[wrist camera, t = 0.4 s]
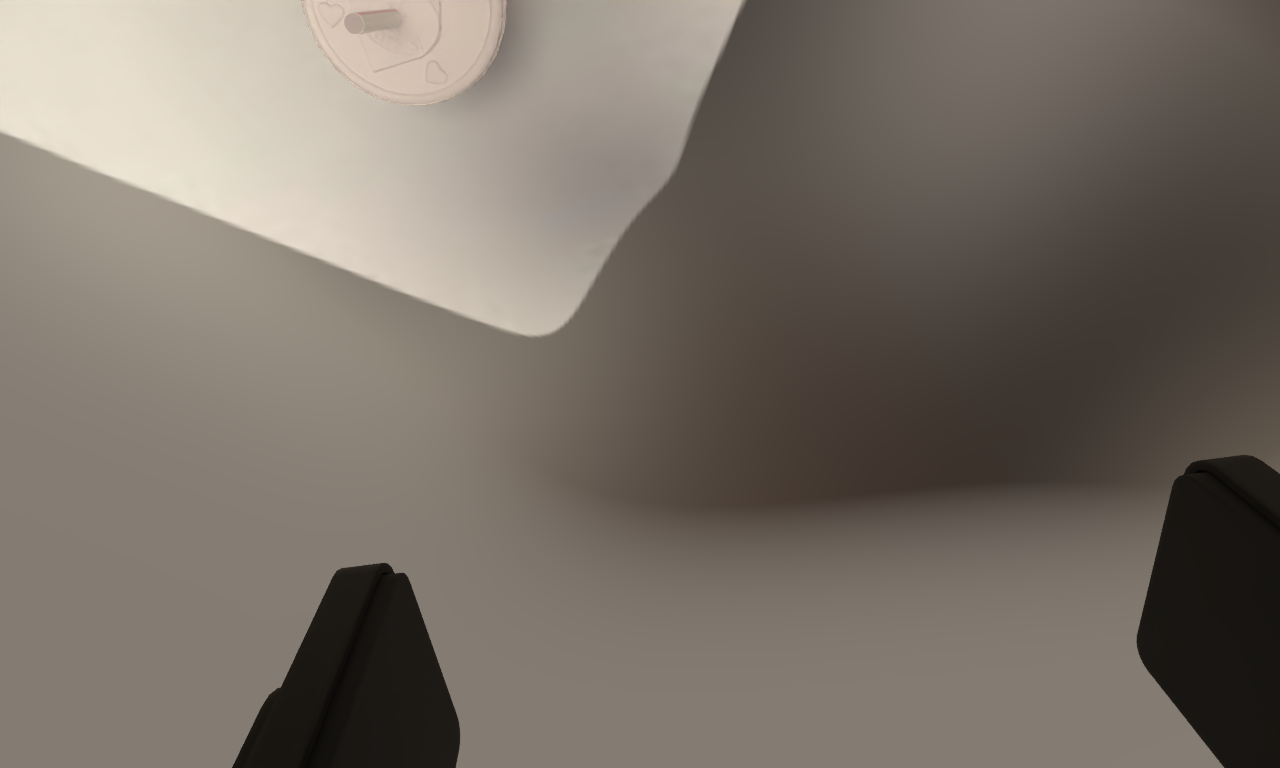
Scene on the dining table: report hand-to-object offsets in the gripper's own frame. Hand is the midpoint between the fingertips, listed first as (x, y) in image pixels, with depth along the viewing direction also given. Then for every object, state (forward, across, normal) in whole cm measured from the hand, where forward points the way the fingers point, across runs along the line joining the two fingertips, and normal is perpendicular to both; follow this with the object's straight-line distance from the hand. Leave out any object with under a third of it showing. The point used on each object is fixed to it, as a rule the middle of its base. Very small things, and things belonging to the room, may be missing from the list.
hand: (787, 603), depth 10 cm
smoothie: (+30, +8, -8) cm, 32 cm away
